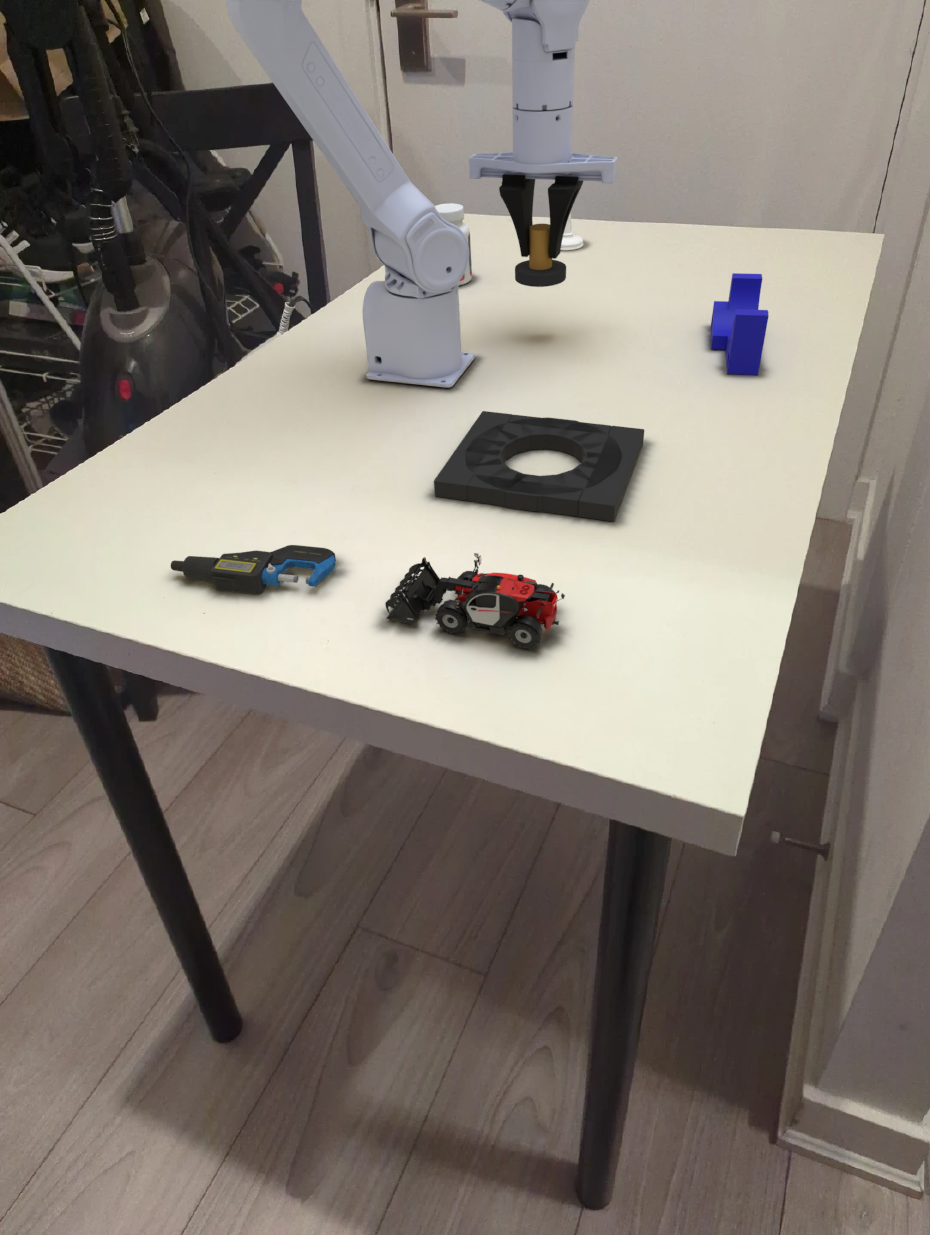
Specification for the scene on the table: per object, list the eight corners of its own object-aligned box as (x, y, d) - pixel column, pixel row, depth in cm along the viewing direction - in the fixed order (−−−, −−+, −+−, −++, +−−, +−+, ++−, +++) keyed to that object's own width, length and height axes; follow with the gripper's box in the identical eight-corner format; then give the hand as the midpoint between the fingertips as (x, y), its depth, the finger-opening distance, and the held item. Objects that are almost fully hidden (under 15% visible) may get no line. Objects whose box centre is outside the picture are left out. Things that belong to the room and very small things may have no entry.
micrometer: (339, 543, 64) (316, 584, 61) (342, 564, 66) (319, 605, 62) (192, 527, 67) (161, 565, 63) (197, 547, 68) (167, 586, 64)
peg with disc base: (508, 285, 91) (508, 233, 88) (522, 268, 95) (522, 218, 92) (559, 288, 90) (560, 235, 86) (571, 271, 94) (572, 220, 90)
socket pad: (434, 497, 72) (432, 481, 71) (483, 424, 82) (483, 410, 81) (613, 523, 68) (614, 506, 67) (643, 443, 77) (645, 428, 77)
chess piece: (546, 250, 121) (547, 171, 114) (549, 239, 125) (551, 162, 118) (582, 250, 120) (585, 171, 114) (584, 239, 124) (587, 162, 117)
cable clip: (710, 328, 97) (717, 273, 93) (752, 329, 96) (761, 274, 92) (711, 373, 88) (720, 314, 84) (758, 375, 87) (768, 315, 83)
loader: (385, 622, 60) (378, 567, 57) (412, 583, 63) (406, 529, 60) (554, 658, 56) (555, 601, 53) (573, 615, 59) (575, 559, 56)
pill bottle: (447, 271, 116) (443, 199, 110) (479, 277, 114) (477, 204, 108) (423, 283, 113) (417, 210, 107) (455, 290, 110) (452, 215, 105)
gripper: (626, 99, 83) (617, 247, 92) (482, 97, 87) (486, 239, 96) (612, 113, 78) (603, 268, 87) (459, 111, 82) (465, 260, 91)
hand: (540, 255), depth 91 cm, fingers closed on peg with disc base, 2 cm apart
